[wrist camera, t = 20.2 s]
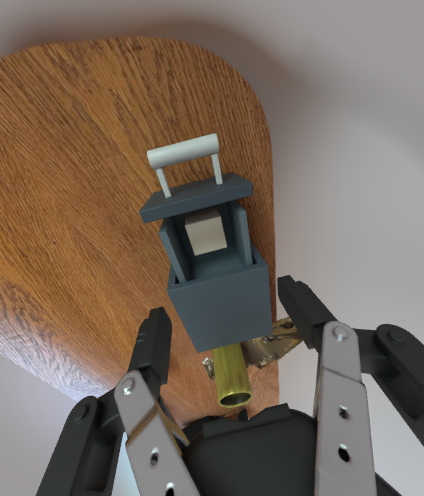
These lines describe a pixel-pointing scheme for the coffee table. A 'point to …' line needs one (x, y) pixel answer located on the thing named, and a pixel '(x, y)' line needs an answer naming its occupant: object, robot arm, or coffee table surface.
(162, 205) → the drawer
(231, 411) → the knife
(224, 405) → the vase
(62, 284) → the coffee table surface
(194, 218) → the block
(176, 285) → the cabinet
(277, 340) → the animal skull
